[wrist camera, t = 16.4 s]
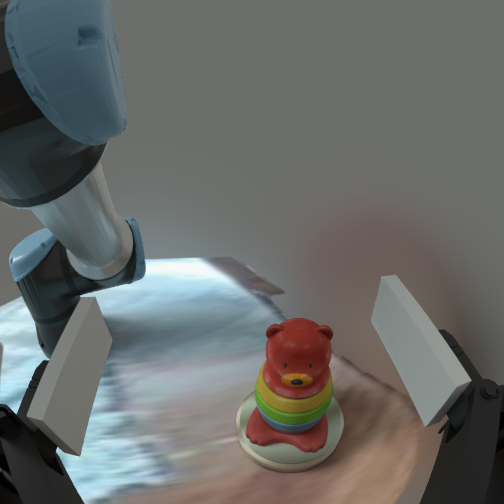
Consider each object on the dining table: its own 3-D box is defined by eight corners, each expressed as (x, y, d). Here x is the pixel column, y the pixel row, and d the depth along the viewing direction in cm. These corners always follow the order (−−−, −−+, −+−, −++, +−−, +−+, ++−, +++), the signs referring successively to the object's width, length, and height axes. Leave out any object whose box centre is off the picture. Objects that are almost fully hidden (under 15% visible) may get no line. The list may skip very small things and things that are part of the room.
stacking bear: (242, 443, 33) (230, 361, 24) (259, 386, 41) (257, 292, 33) (324, 455, 31) (357, 377, 22) (331, 394, 39) (355, 302, 30)
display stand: (227, 400, 42) (225, 390, 41) (317, 378, 45) (319, 367, 44) (252, 485, 30) (252, 479, 28) (356, 451, 33) (362, 443, 31)
